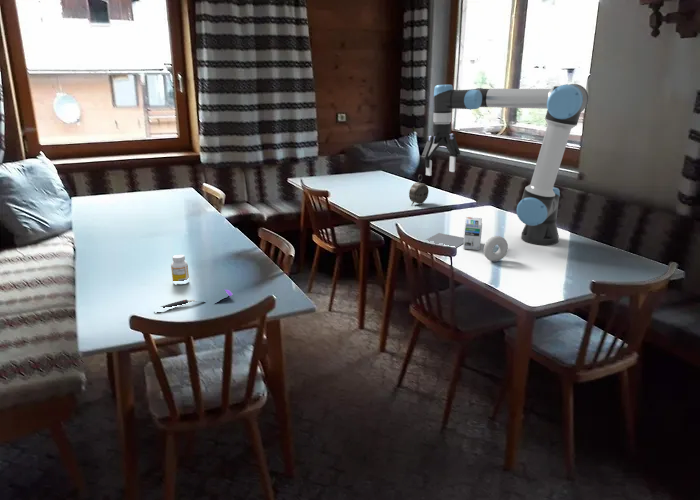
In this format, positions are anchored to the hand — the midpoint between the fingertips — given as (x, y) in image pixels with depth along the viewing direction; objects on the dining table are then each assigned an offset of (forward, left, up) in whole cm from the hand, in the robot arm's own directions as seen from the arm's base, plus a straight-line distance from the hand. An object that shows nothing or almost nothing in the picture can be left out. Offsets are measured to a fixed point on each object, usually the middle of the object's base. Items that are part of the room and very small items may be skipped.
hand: (440, 173), depth 240 cm
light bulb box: (-20, +9, -27) cm, 35 cm away
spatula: (+26, +114, -27) cm, 120 cm away
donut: (-35, +21, -27) cm, 49 cm away
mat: (-9, +9, -27) cm, 29 cm away
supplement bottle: (+44, +105, -27) cm, 117 cm away
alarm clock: (+32, -40, -27) cm, 58 cm away
